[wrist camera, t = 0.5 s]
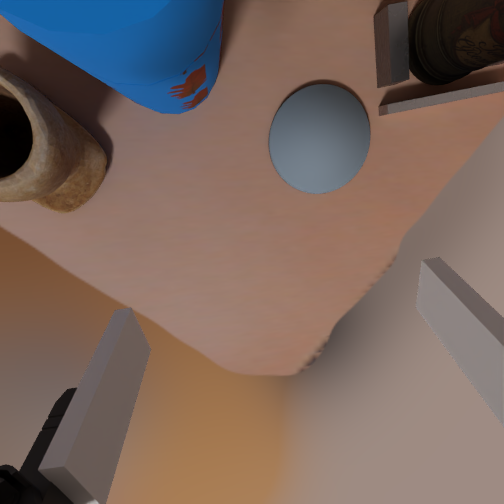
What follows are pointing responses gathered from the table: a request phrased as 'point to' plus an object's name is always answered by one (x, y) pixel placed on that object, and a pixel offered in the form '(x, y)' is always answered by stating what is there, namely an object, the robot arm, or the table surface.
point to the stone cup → (44, 151)
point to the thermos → (132, 44)
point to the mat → (319, 138)
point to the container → (454, 38)
